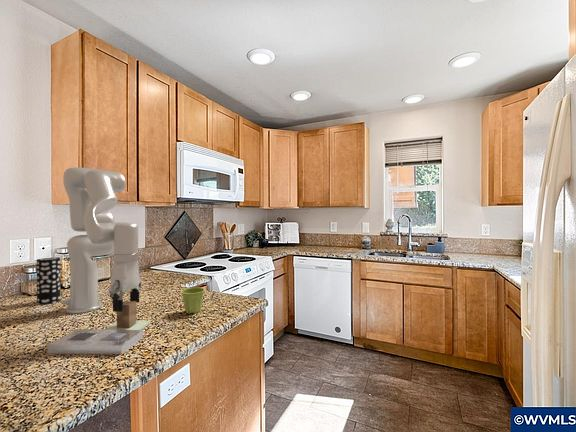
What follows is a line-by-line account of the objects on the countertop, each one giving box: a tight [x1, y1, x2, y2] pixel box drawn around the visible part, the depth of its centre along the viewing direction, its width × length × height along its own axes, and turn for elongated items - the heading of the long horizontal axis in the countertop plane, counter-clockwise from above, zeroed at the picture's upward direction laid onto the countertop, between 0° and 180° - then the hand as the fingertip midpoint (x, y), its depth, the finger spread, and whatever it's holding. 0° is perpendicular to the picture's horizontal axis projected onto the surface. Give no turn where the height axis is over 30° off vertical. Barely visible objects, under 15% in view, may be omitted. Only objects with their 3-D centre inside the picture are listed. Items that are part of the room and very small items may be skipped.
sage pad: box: [103, 320, 151, 330], centre depth 100 cm, size 12×9×1 cm
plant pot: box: [180, 287, 206, 314], centre depth 117 cm, size 9×9×9 cm
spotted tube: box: [36, 257, 61, 306], centre depth 131 cm, size 8×8×20 cm
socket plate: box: [47, 328, 144, 355], centre depth 87 cm, size 22×11×2 cm, turn 88°
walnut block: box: [116, 300, 137, 328], centre depth 100 cm, size 4×4×8 cm
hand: (126, 306), depth 100 cm, fingers open, 9 cm apart
